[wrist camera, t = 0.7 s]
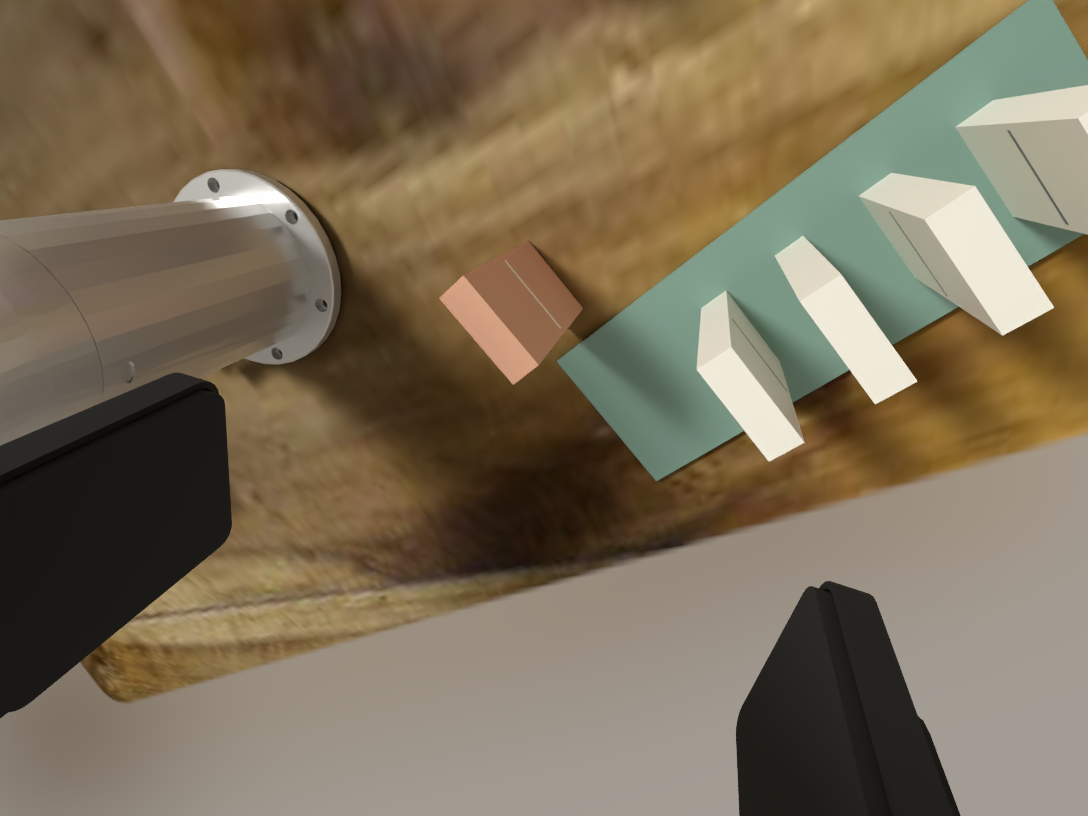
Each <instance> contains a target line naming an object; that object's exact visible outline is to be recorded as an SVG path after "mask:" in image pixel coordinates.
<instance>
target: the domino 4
mask: <svg viewBox="0 0 1088 816" xmlns="http://www.w3.org/2000/svg"><path fill="white" fill-rule="evenodd" d="M859 198H860V199H861V200H862V202H863V203H864V205H865V206H866V208H867V209H868V211H869V212H870V214H871V215H872V216H873V218H874V219H875V221H876V222H877V224H878V225H879V227H880V228H881V229H882V231H883V232H884V234H885V235H886V237H887V238H888V240H889V241H890V243H891V244H892V245H893V247H894V248H895V250H896V251H897V253H898V254H899V256H900V257H901V258H902V260H903V261H904V263H905V264H906V266H907V267H908V269H909V270H910V272H911V273H912V274H913V276H914V277H915V278H916V279H918V280H919V281H921V282H922V283H924V284H925V285H927V286H928V287H930V288H931V289H933V290H934V291H936V292H937V293H939V294H940V295H942V296H943V297H945V298H946V299H948V300H949V301H951V302H952V303H954V304H955V305H957V306H959V307H960V308H962V309H963V310H965V311H966V312H968V313H969V314H971V315H972V316H974V317H975V318H977V319H978V320H980V321H981V322H983V323H984V324H986V325H987V326H989V327H990V328H992V329H993V330H995V331H996V332H998V333H999V334H1001V335H1002V336H1003V335H1005V334H1007V333H1008V332H1010V331H1012V330H1014V329H1016V328H1018V327H1020V326H1021V325H1023V324H1025V323H1027V322H1029V321H1031V320H1033V319H1034V318H1036V317H1038V316H1040V315H1042V314H1044V313H1046V312H1047V311H1049V310H1051V309H1053V308H1054V307H1053V305H1052V303H1051V302H1050V300H1049V299H1048V297H1047V296H1046V294H1045V293H1044V291H1043V290H1042V288H1041V287H1040V285H1039V283H1038V282H1037V280H1036V279H1035V277H1034V276H1033V274H1032V273H1031V271H1030V270H1029V268H1028V267H1027V265H1026V263H1025V262H1024V260H1023V259H1022V257H1021V256H1020V254H1019V253H1018V251H1017V250H1016V248H1015V246H1014V245H1013V243H1012V242H1011V240H1010V239H1009V237H1008V236H1007V234H1006V233H1005V231H1004V230H1003V228H1002V226H1001V225H1000V223H999V222H998V220H997V219H996V217H995V216H994V214H993V213H992V211H991V210H990V208H989V206H988V205H987V203H986V202H985V200H984V199H983V197H982V196H981V194H980V193H979V191H978V190H977V188H976V186H972V185H966V184H959V183H953V182H947V181H940V180H934V179H928V178H921V177H915V176H909V175H902V174H896V173H890V174H889V175H887V176H886V177H885V178H883V179H882V180H880V181H879V182H878V183H876V184H875V185H873V186H872V187H871V188H869V189H868V190H866V191H865V192H864V193H862V194H861V195H859Z"/></svg>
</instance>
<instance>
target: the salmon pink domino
mask: <svg viewBox="0 0 1088 816" xmlns="http://www.w3.org/2000/svg"><path fill="white" fill-rule="evenodd" d="M439 299H440V300H441V301H442V302H443V303H444V305H445V306H446V307H447V308H448V309H449V311H450V312H451V313H452V314H453V315H454V316H455V318H456V319H457V320H458V321H459V322H460V323H461V325H462V326H463V327H464V328H465V329H466V330H467V332H468V333H469V334H470V335H471V336H472V337H473V339H474V340H475V341H476V342H477V343H478V344H479V346H480V347H481V348H482V349H483V350H484V351H485V353H486V354H487V355H488V356H489V357H490V358H491V360H492V361H493V362H494V363H495V364H496V365H497V367H498V368H499V369H500V370H501V371H502V372H503V374H504V375H505V376H506V377H507V378H508V379H509V381H510V382H511V383H512V384H513V385H514V384H515V383H516V382H518V381H519V380H520V379H522V378H523V377H524V376H525V375H527V374H528V373H529V372H531V371H532V370H533V369H534V368H536V367H537V366H538V365H539V364H540V363H541V362H542V360H543V359H544V358H545V357H546V355H547V354H548V353H549V352H550V350H551V349H552V348H553V346H554V345H555V344H556V343H557V341H558V340H559V339H560V338H561V336H562V335H563V334H564V332H565V331H566V330H567V329H568V327H569V326H570V325H571V324H572V322H573V321H574V320H575V319H576V317H577V316H578V315H579V313H580V312H581V311H582V310H583V307H582V306H581V305H580V304H579V303H578V301H577V300H576V299H575V298H574V296H573V295H572V294H571V293H570V291H569V290H568V289H567V288H566V287H565V285H564V284H563V283H562V282H561V280H560V279H559V278H558V277H557V275H556V274H555V273H554V272H553V270H552V269H551V268H550V267H549V266H548V264H547V263H546V262H545V261H544V259H543V258H542V257H541V256H540V254H539V253H538V252H537V251H536V249H535V248H534V247H533V246H532V245H531V243H530V242H529V241H528V242H526V243H524V244H522V245H520V246H518V247H516V248H515V249H513V250H511V251H509V252H507V253H505V254H503V255H501V256H499V257H497V258H495V259H494V260H492V261H490V262H488V263H486V264H484V265H482V266H480V267H478V268H476V269H475V270H473V271H471V272H469V273H467V274H465V275H463V276H462V277H461V278H460V279H459V280H458V281H457V282H456V283H455V284H454V285H453V286H452V287H451V288H449V289H448V290H447V291H446V292H445V293H444V294H443V295H442V296H441V297H440V298H439Z"/></svg>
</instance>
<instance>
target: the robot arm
mask: <svg viewBox="0 0 1088 816" xmlns="http://www.w3.org/2000/svg"><path fill="white" fill-rule="evenodd" d="M340 301H341V281H340V273H339V268H338V264H337V260H336V256H335V253H334V251H333V248H332V246H331V243H330V241H329V238H328V236H327V235H326V233H325V231H324V230H323V228H322V226H321V224H320V223H319V221H318V219H317V218H316V217H315V216H314V214H313V213H312V212H311V211H310V209H309V208H308V207H307V206H306V204H305V203H304V202H303V201H302V200H300V199H299V198H298V197H297V196H296V195H295V194H294V193H293V192H292V191H291V190H289V189H288V188H286V187H285V186H283V185H282V184H280V183H279V182H277V181H276V180H274V179H272V178H270V177H267V176H265V175H262V174H260V173H257V172H254V171H248V170H242V169H221V170H215V171H209V172H206V173H204V174H202V175H200V176H198V177H196V178H194V179H192V180H191V181H190V182H189V183H188V184H187V185H186V186H184V187H183V188H182V189H181V191H180V192H179V194H178V195H177V197H176V198H175V200H174V202H171V203H161V204H152V205H142V206H133V207H124V208H114V209H105V210H95V211H86V212H76V213H67V214H58V215H48V216H39V217H29V218H20V219H10V220H1V221H0V718H1V717H3V716H4V715H5V714H6V713H8V712H13V711H16V710H18V709H21V708H23V707H24V706H26V705H27V704H28V703H30V702H31V701H33V700H34V699H35V698H36V697H37V696H39V695H40V694H41V693H42V692H44V691H45V690H46V689H47V688H48V687H50V686H51V685H52V684H53V683H54V682H56V681H57V680H58V679H59V678H61V677H62V676H63V675H64V674H66V673H67V672H68V671H69V670H70V669H72V668H73V667H74V666H75V665H77V664H78V663H79V662H80V661H81V660H83V659H84V658H85V657H86V656H88V655H89V654H90V653H91V652H92V651H94V650H95V649H96V648H97V647H98V646H100V645H101V644H102V643H103V642H105V641H106V640H107V639H108V638H109V637H111V636H112V635H113V634H114V633H116V632H117V631H118V630H119V629H120V628H122V627H123V626H124V625H125V624H127V623H128V622H129V621H130V620H131V619H133V618H134V617H135V616H136V615H138V614H139V613H140V612H141V611H142V610H144V609H145V608H146V607H147V606H148V605H150V604H151V603H152V602H153V601H155V600H156V599H157V598H158V597H159V596H161V595H162V594H163V593H164V592H166V591H167V590H168V589H169V588H170V587H172V586H173V585H174V584H175V583H177V582H178V581H179V580H180V579H181V578H183V577H184V576H185V575H186V574H188V573H189V572H190V571H191V570H192V569H194V568H195V567H196V566H197V565H199V564H200V563H201V562H202V561H203V560H205V559H206V558H207V557H208V556H209V555H211V554H212V553H213V552H214V551H216V550H217V549H218V548H219V547H220V546H221V545H222V544H223V543H224V542H225V541H226V539H227V538H228V536H229V534H230V531H231V527H232V519H231V502H230V485H229V468H228V451H227V433H226V416H225V403H224V399H223V398H222V396H220V395H219V392H218V389H217V388H216V386H215V385H214V384H212V383H211V382H208V381H205V380H202V379H199V378H202V377H204V376H206V375H208V374H210V373H213V372H215V371H217V370H219V369H221V368H224V367H226V366H228V365H230V364H232V363H235V362H237V361H239V360H241V359H243V358H245V359H247V360H249V361H254V362H258V363H262V364H277V365H279V364H284V363H290V362H293V361H296V360H298V359H300V358H302V357H304V356H306V355H308V354H310V353H311V352H313V351H315V350H316V349H318V348H319V347H320V346H321V344H322V343H323V342H324V341H325V340H326V339H327V338H328V336H329V335H330V333H331V331H332V329H333V328H334V326H335V323H336V320H337V317H338V314H339V310H340ZM736 745H737V768H738V791H739V814H740V816H960V813H959V811H958V808H957V805H956V802H955V800H954V797H953V794H952V792H951V789H950V786H949V784H948V781H947V779H946V776H945V773H944V770H943V768H942V765H941V762H940V760H939V757H938V754H937V752H936V749H935V746H934V743H933V741H932V738H931V735H930V733H929V731H928V729H927V727H926V725H925V724H924V721H923V720H922V719H920V718H919V717H918V716H917V713H916V710H915V707H914V705H913V702H912V699H911V697H910V694H909V691H908V688H907V685H906V682H905V680H904V677H903V675H902V672H901V669H900V666H899V663H898V661H897V658H896V655H895V652H894V650H893V647H892V644H891V641H890V638H889V636H888V633H887V630H886V627H885V625H884V622H883V619H882V616H881V614H880V611H879V608H878V606H877V603H876V601H875V599H874V597H873V596H872V595H870V594H868V593H865V592H862V591H859V590H856V589H853V588H850V587H846V586H843V585H840V584H837V583H834V582H831V581H826V582H824V583H823V584H822V585H821V586H820V588H819V589H818V588H815V587H812V586H810V587H808V588H807V589H806V590H805V591H804V593H803V595H802V596H801V598H800V600H799V602H798V604H797V606H796V607H795V609H794V611H793V613H792V615H791V617H790V619H789V620H788V622H787V624H786V626H785V628H784V630H783V631H782V634H781V635H780V637H779V639H778V641H777V643H776V644H775V647H774V648H773V650H772V652H771V654H770V656H769V657H768V659H767V661H766V663H765V665H764V667H763V668H762V670H761V672H760V674H759V676H758V678H757V680H756V682H755V683H754V685H753V687H752V689H751V691H750V693H749V694H748V696H747V698H746V700H745V702H744V704H743V705H742V708H741V710H740V713H739V716H738V721H737V727H736Z"/></svg>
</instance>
